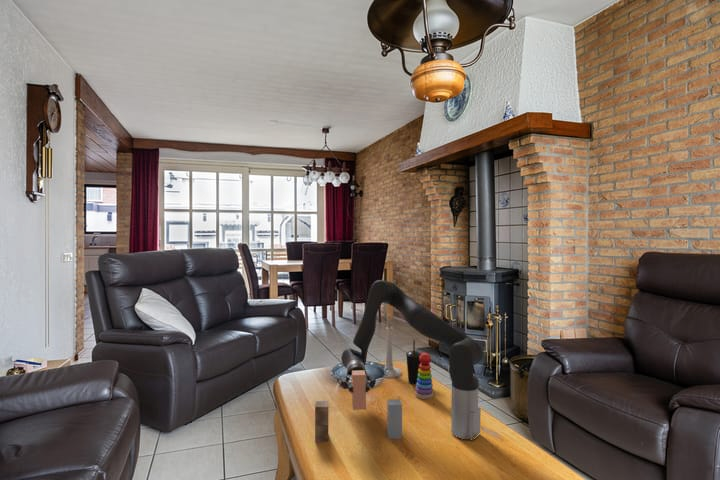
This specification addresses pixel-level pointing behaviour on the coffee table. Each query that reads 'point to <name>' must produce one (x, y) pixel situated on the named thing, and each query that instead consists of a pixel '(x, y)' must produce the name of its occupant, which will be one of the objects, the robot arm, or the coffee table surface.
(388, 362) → the candlestick
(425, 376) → the stacking toy
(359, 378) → the pillar terracotta
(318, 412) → the pillar walnut
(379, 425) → the coffee table surface
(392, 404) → the pillar slate
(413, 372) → the drinking cup
